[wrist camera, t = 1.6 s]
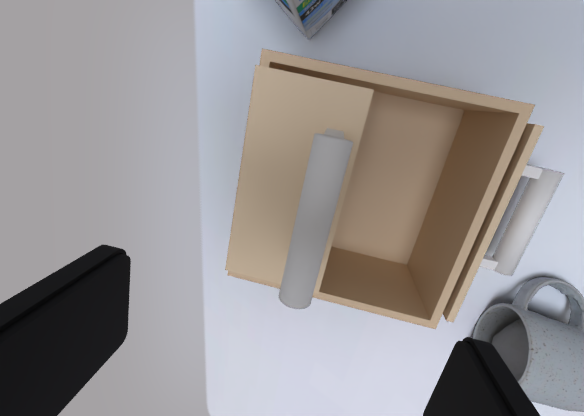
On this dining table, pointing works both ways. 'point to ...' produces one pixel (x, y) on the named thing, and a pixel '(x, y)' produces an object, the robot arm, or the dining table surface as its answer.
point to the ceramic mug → (540, 345)
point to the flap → (294, 178)
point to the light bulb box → (310, 13)
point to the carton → (426, 194)
